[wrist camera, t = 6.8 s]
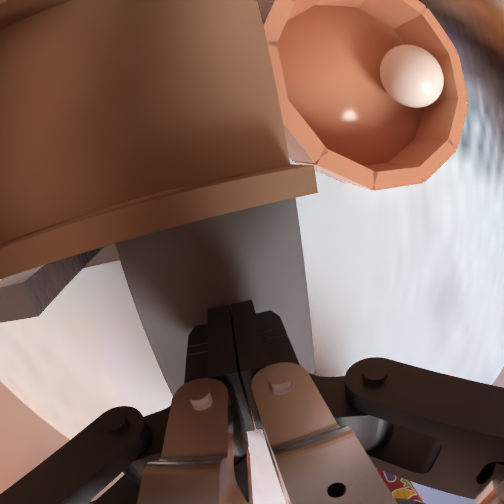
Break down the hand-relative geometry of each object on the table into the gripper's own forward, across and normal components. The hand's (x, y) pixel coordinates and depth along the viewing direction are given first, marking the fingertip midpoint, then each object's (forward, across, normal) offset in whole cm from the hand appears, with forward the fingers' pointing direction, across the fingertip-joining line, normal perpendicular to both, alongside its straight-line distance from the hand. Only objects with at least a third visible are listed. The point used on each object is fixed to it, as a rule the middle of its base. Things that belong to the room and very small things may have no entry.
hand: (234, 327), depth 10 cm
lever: (+2, +7, -5) cm, 9 cm away
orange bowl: (+7, -8, -8) cm, 14 cm away
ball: (+4, -11, -8) cm, 15 cm away
